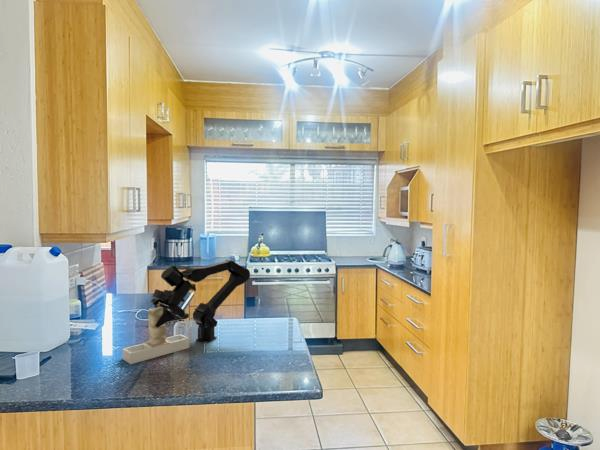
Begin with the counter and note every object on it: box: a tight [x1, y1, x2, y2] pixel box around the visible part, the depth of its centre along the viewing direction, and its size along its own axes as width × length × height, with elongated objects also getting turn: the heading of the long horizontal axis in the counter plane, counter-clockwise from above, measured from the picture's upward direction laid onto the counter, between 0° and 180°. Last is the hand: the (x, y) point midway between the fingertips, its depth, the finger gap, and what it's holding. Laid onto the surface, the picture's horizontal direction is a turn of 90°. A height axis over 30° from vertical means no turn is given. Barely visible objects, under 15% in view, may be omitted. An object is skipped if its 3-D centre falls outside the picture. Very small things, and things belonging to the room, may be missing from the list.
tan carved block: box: [147, 307, 167, 344], centre depth 157 cm, size 5×4×13 cm
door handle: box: [165, 312, 190, 324], centre depth 204 cm, size 3×20×16 cm
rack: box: [121, 333, 190, 365], centre depth 157 cm, size 24×7×4 cm, turn 136°
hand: (153, 325), depth 156 cm, fingers closed on tan carved block, 4 cm apart
